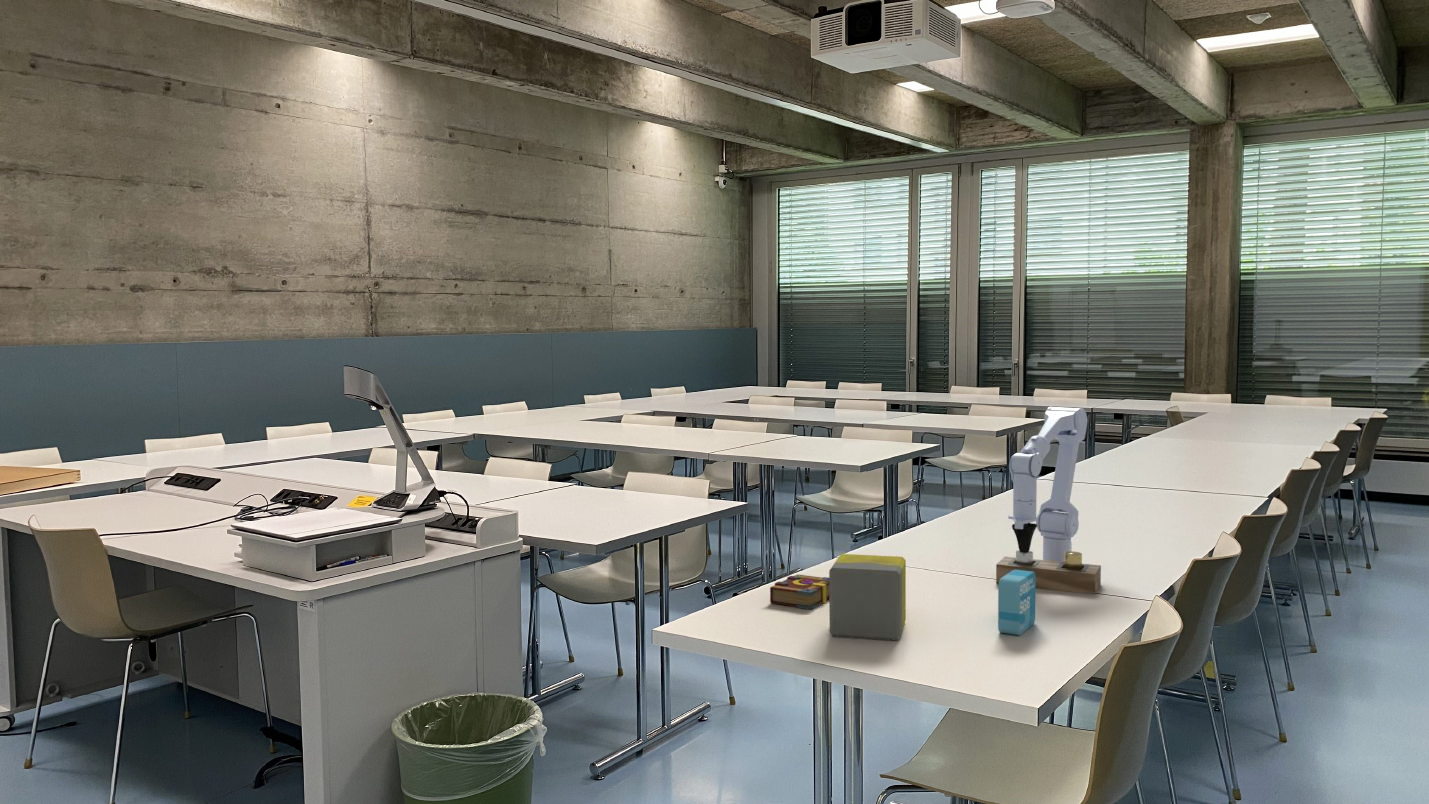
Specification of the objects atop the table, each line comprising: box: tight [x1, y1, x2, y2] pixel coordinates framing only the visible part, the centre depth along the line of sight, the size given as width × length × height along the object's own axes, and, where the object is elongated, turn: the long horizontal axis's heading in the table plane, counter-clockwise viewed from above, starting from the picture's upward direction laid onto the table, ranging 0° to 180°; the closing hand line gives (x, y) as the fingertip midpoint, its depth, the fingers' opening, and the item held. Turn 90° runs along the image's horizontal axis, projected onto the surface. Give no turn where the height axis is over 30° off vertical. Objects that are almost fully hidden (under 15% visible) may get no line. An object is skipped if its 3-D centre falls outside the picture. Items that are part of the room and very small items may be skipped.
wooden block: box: [995, 556, 1102, 595], centre depth 258 cm, size 10×24×5 cm, turn 61°
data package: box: [997, 570, 1037, 636], centre depth 220 cm, size 12×4×12 cm, turn 146°
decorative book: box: [769, 574, 829, 611], centre depth 247 cm, size 11×16×5 cm
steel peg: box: [1015, 549, 1034, 565], centre depth 260 cm, size 4×4×4 cm
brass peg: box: [1064, 551, 1083, 570], centre depth 255 cm, size 4×4×4 cm
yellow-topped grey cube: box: [828, 553, 907, 642], centre depth 226 cm, size 15×24×15 cm, turn 164°
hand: (1024, 551), depth 260 cm, fingers closed, pressing on steel peg
